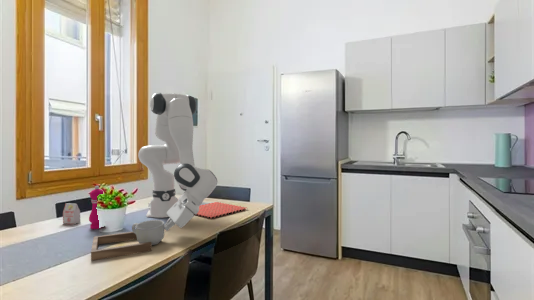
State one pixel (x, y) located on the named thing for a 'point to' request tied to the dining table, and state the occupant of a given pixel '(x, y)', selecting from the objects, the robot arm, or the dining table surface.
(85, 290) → the dining table surface
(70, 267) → the dining table surface
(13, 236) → the dining table surface
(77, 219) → the small food carton
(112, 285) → the dining table surface
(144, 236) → the teacup
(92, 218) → the pepper mill
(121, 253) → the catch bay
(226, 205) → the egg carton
